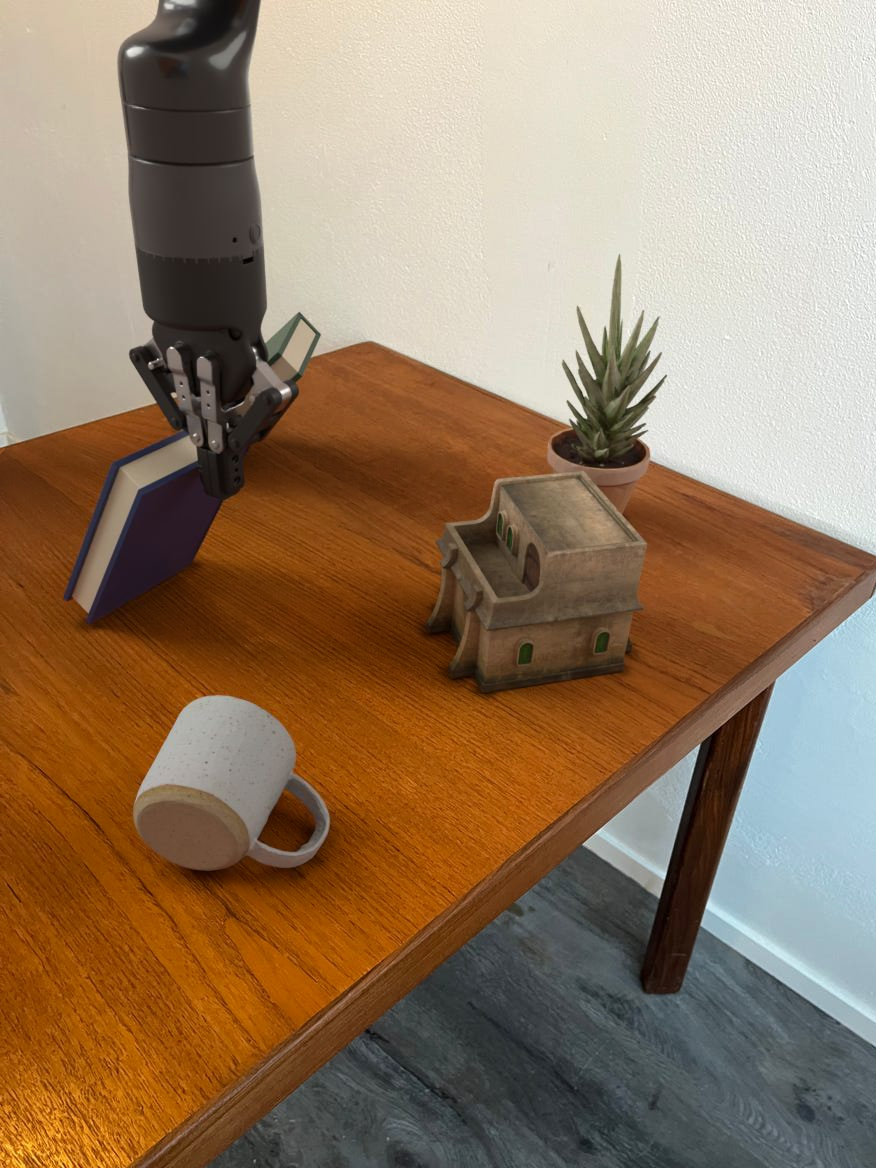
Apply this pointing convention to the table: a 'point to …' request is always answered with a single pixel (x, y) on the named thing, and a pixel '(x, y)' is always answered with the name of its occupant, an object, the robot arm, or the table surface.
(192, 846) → the ceramic mug
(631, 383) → the potted plant
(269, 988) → the table surface
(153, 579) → the navy book
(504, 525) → the miniature house
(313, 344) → the green book
